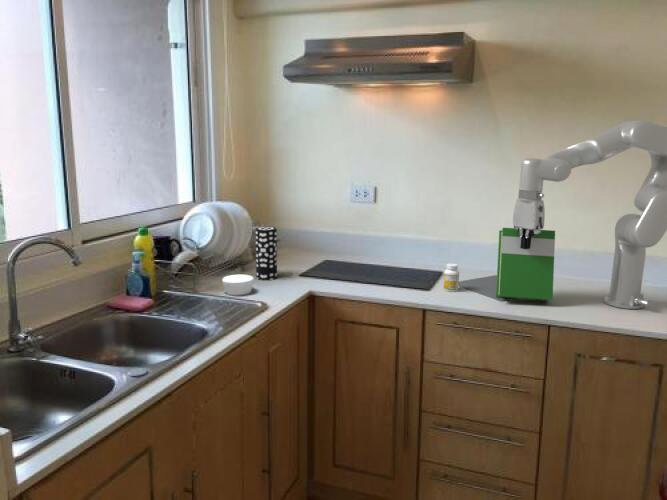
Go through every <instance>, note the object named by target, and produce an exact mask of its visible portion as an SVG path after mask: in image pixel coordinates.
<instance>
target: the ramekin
mask: <svg viewBox="0 0 667 500" xmlns="http://www.w3.org/2000/svg"><path fill="white" fill-rule="evenodd" d="M221 281H222V283H223V284H222V285H223V289H224V292H225V294H227V295H229V296H245V295H248V294H250V293H251V292H252V290H253V283H254V281H255V279H254V276H252V275H250V274H249V275H248V274H241V273H240V274H239V273H238V274H231V275H226V276H224V277H223V278H222V280H221Z"/></svg>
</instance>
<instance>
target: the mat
mask: <svg viewBox="0 0 667 500" xmlns="http://www.w3.org/2000/svg"><path fill="white" fill-rule="evenodd" d="M458 287H459V288H463V289H465V290H468V291H471V292H474V293H477V294H479V295H481V296H485V297H488V298H491V299H494V300H496V301H499V302H506V301H510V300H515V299H517V298H506V297H496V287H497V274H495V275H490V276H484V277H476V278H471V279H465V280H459V284H458Z"/></svg>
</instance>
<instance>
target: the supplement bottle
mask: <svg viewBox="0 0 667 500" xmlns="http://www.w3.org/2000/svg"><path fill="white" fill-rule="evenodd" d="M458 267H459V264H457V263H447V264H446V269H445V270H444V274H443V275H444V276H443V290H444V291H446V292H457V291H459V286H458V284H459V281H460V271H459V270H458Z"/></svg>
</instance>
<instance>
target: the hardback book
mask: <svg viewBox="0 0 667 500" xmlns="http://www.w3.org/2000/svg"><path fill="white" fill-rule="evenodd" d="M555 244H556V230H547V229H541V233H540V234H535V235H534V236H533V237H531V246H530V249H521V248H520V246H521V237H520V233H519V232H518V231H517V230H515V229H514V227H502V230H498V250H497V251H498V252H497V268H496V270H497V271H496V272H497V273H496V275H497V287H496V297H506V298H516V299H520V300H522V299H523V300H534V301H546V302H547V301H554V300H553V296H554V293H553V292H554V274H555V271H554V270H555V267H554V266H555V247H556V246H555Z"/></svg>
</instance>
